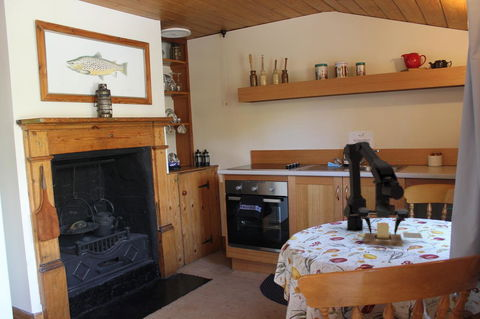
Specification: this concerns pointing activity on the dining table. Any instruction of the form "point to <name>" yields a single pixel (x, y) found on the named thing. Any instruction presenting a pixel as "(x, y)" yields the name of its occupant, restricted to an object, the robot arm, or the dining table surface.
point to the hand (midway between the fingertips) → (382, 233)
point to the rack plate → (372, 240)
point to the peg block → (383, 231)
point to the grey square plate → (412, 235)
